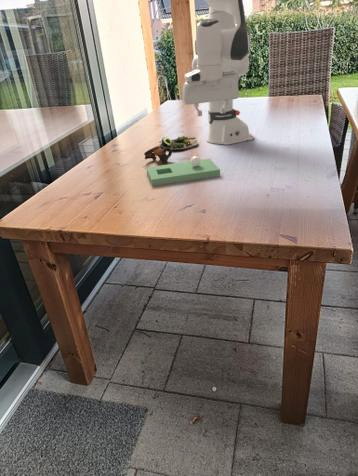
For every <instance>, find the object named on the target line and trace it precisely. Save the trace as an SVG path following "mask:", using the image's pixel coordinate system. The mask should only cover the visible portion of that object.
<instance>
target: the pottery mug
mask: <svg viewBox="0 0 358 476" xmlns="http://www.w3.org/2000/svg"><path fill="white" fill-rule="evenodd" d="M167 150H168V151H167ZM167 152H168V154H167ZM143 154H144V159H145V160H148V159H150V160H151V159H152V161H155V160H157V157H158V158H159V159H158V161H156V166H161V165H168V164H169V161H168V160H169V159H170V158H171V156H172V154H173V152H172V150H171V148H170V147H166V148H164V149H162V148H161V147H160V146H159V145H156V146H154V147H152V148H150V149H148V150H147V151H145V152H144V153H143Z"/></svg>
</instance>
